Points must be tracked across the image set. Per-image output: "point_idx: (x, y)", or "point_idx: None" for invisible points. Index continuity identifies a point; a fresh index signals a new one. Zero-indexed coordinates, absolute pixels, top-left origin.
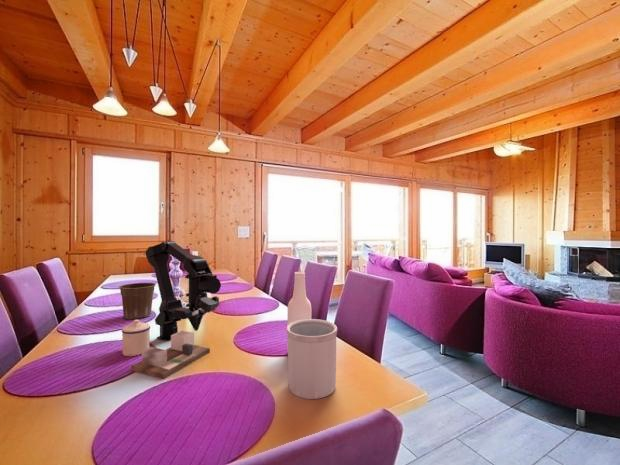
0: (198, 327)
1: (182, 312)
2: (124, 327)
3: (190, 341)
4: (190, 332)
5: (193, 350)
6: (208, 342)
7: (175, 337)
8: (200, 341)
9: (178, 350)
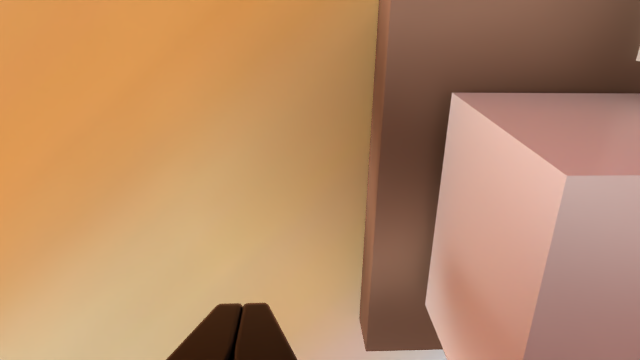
0: (208, 332)
1: None
2: None
3: (588, 121)
4: (551, 273)
5: (552, 9)
6: (95, 106)
7: None
8: (129, 228)
9: None
